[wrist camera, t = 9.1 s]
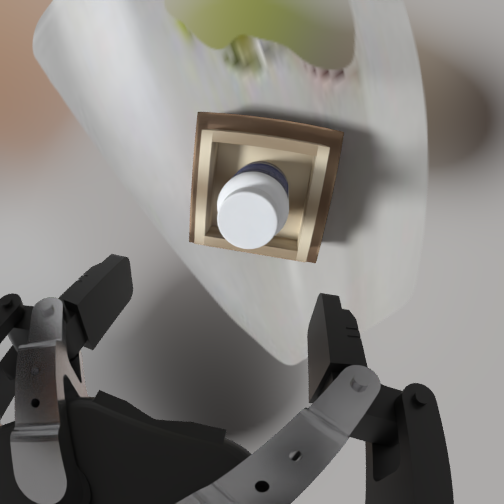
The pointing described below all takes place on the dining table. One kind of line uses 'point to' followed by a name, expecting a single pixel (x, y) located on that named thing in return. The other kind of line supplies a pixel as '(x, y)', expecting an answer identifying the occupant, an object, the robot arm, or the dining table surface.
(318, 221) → the box
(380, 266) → the dining table surface
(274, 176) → the pill bottle
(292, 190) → the top crate
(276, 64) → the dining table surface
